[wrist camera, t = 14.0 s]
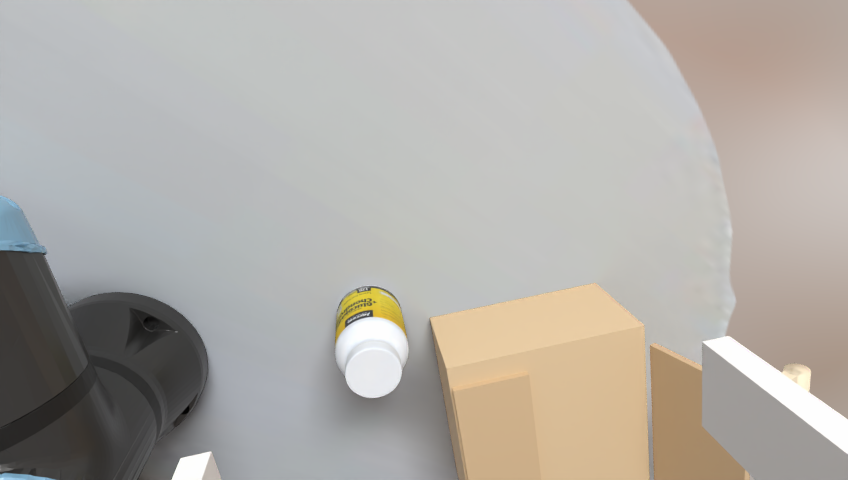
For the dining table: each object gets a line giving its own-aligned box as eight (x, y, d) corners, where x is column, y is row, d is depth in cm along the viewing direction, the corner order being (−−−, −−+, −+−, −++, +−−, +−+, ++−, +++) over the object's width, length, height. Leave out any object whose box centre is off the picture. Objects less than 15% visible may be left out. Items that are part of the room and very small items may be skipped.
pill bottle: (385, 272, 54) (394, 324, 43) (410, 325, 56) (425, 387, 45) (325, 299, 54) (319, 358, 43) (353, 350, 56) (354, 419, 45)
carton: (457, 473, 63) (478, 550, 53) (429, 317, 56) (447, 372, 46) (605, 438, 64) (653, 507, 54) (595, 282, 57) (647, 328, 48)
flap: (746, 557, 45) (803, 515, 48) (752, 396, 40) (816, 359, 43) (654, 485, 54) (707, 453, 56) (650, 345, 49) (709, 317, 51)
